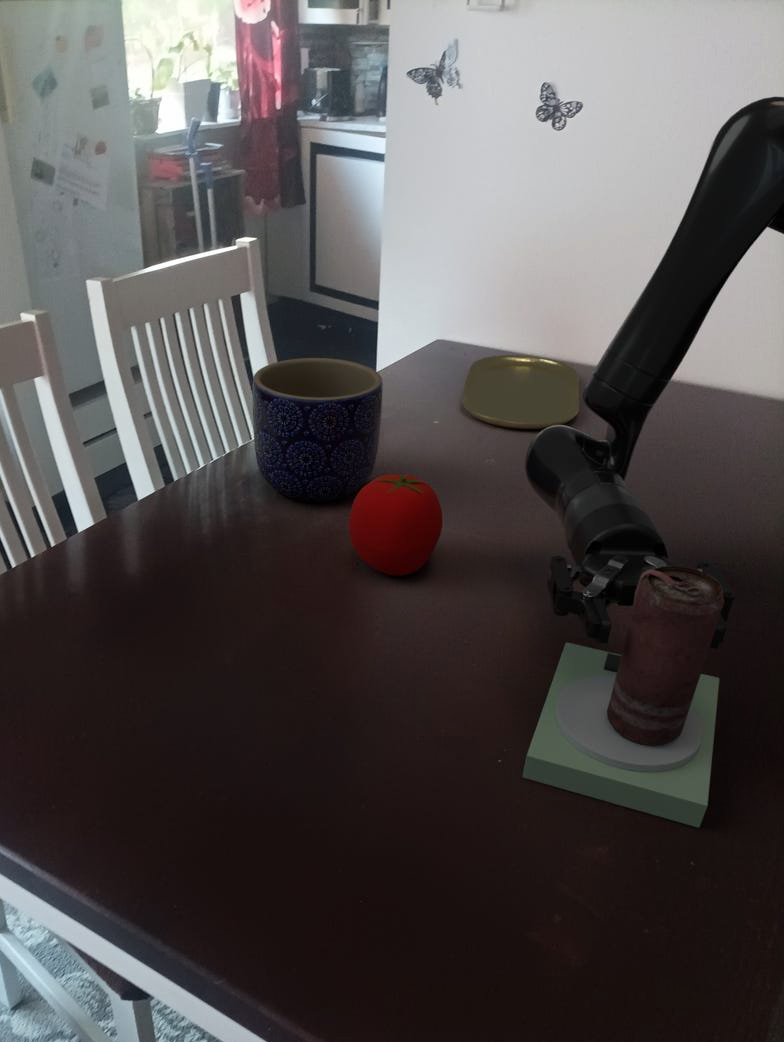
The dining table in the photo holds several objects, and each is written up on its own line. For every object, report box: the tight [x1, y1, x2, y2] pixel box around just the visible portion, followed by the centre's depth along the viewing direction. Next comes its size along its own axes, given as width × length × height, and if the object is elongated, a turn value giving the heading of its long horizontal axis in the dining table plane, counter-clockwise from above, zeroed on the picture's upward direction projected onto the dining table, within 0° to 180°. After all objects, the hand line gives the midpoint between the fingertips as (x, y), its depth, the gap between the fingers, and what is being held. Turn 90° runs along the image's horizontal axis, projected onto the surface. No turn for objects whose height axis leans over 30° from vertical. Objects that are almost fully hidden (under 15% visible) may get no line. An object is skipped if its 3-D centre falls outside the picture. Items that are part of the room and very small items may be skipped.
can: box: [607, 565, 724, 746], centre depth 72 cm, size 6×6×14 cm
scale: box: [522, 641, 720, 829], centre depth 79 cm, size 18×14×3 cm
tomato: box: [348, 473, 443, 577], centre depth 101 cm, size 10×11×11 cm
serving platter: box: [460, 354, 580, 431], centre depth 152 cm, size 19×35×2 cm, turn 166°
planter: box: [252, 357, 383, 503], centre depth 118 cm, size 17×17×15 cm
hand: (660, 637), depth 70 cm, fingers open, 8 cm apart
